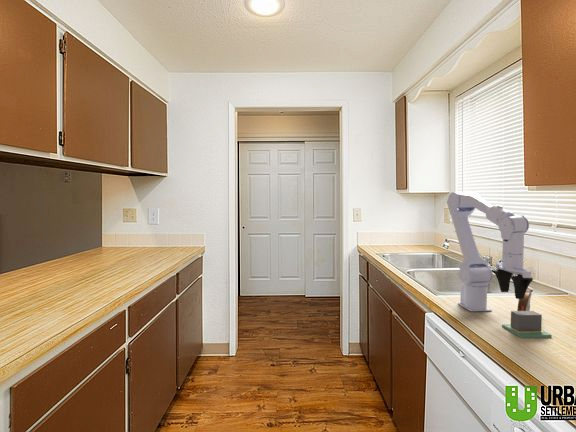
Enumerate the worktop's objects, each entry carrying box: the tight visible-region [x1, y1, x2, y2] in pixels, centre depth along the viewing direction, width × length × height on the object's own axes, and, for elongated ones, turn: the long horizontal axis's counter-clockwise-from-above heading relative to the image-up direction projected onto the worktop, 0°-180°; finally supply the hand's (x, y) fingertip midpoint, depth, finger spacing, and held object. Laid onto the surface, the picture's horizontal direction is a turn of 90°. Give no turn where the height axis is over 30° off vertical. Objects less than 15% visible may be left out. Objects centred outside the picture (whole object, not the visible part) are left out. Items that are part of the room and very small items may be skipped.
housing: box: [510, 310, 543, 332], centre depth 108 cm, size 4×7×5 cm, turn 90°
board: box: [501, 323, 552, 339], centre depth 108 cm, size 9×9×3 cm
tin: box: [516, 290, 532, 311], centre depth 121 cm, size 15×3×8 cm, turn 141°
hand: (511, 295), depth 114 cm, fingers open, 7 cm apart
